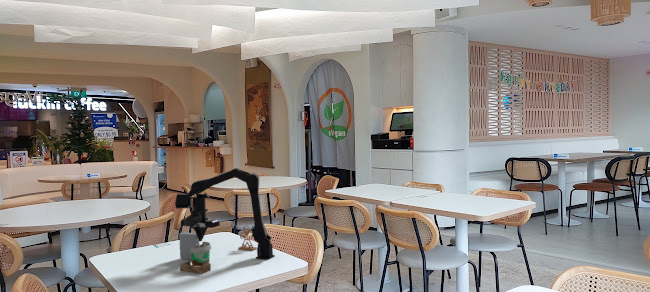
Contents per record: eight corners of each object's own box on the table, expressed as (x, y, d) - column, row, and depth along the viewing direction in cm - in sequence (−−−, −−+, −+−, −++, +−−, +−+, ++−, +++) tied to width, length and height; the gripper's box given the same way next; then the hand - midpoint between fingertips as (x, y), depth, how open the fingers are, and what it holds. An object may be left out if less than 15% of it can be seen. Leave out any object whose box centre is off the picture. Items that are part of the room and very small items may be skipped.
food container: (204, 271, 197) (203, 248, 197) (191, 271, 198) (190, 248, 198) (216, 263, 209) (215, 241, 209) (204, 262, 210) (203, 241, 210)
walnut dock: (210, 270, 198) (210, 263, 198) (202, 274, 193) (201, 267, 193) (188, 267, 203) (188, 261, 203) (180, 271, 198) (179, 264, 198)
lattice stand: (238, 249, 232) (237, 226, 232) (242, 247, 236) (241, 224, 236) (252, 251, 229) (251, 227, 228) (257, 249, 232) (256, 225, 232)
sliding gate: (200, 259, 216) (199, 233, 216) (196, 260, 214) (195, 234, 214) (183, 257, 220) (182, 232, 220) (180, 258, 218) (179, 233, 218)
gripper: (171, 209, 210) (172, 243, 211) (203, 211, 202) (205, 246, 203) (188, 205, 220) (189, 238, 221) (219, 207, 212) (221, 241, 213)
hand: (200, 241), depth 214 cm, fingers closed
